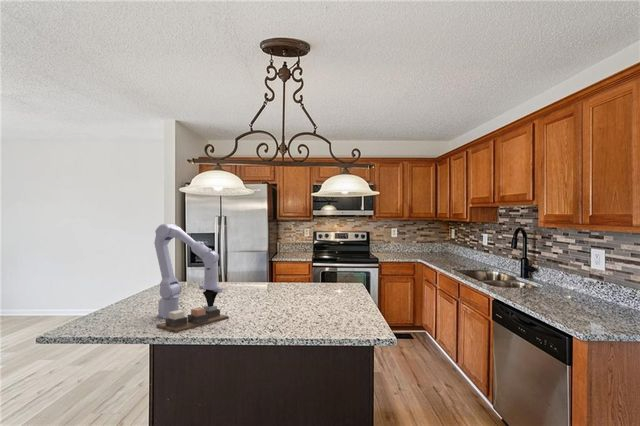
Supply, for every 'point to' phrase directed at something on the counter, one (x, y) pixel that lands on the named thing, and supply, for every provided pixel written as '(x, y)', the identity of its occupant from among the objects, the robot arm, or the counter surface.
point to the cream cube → (176, 315)
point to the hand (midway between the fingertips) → (210, 306)
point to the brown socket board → (191, 321)
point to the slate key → (210, 308)
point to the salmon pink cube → (198, 311)
